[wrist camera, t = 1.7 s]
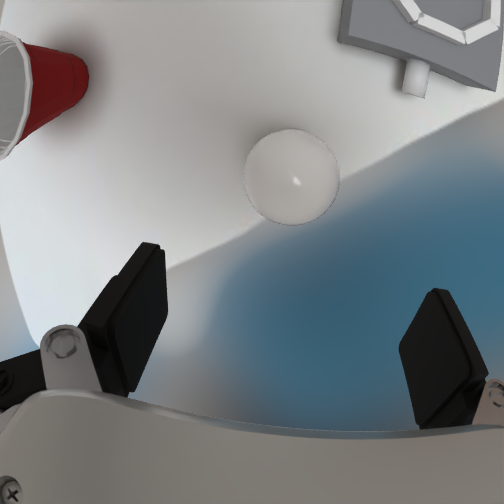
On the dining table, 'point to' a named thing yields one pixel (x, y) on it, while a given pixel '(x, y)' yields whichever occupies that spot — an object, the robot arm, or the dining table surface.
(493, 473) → the robot arm
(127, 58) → the dining table surface
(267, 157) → the lightbulb
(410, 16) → the octagon ring base plate
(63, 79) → the plastic cup
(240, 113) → the dining table surface
